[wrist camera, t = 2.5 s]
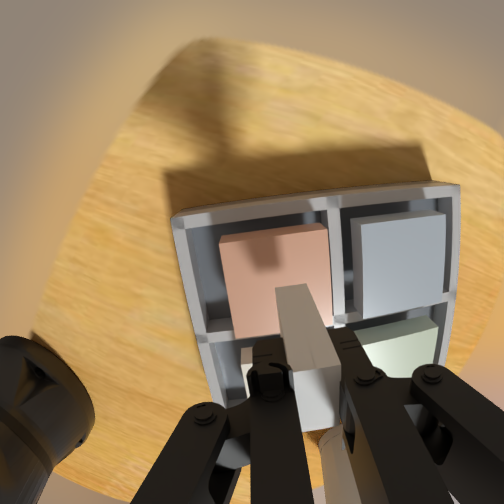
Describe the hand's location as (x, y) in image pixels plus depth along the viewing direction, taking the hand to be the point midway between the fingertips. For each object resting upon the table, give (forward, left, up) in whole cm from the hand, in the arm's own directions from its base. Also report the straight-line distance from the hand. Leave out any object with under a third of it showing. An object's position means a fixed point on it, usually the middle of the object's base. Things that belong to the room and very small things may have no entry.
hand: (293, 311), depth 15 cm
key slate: (+8, 0, -5) cm, 9 cm away
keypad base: (+4, -4, -9) cm, 11 cm away
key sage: (+8, -8, -5) cm, 12 cm away
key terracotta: (0, 0, -5) cm, 5 cm away
